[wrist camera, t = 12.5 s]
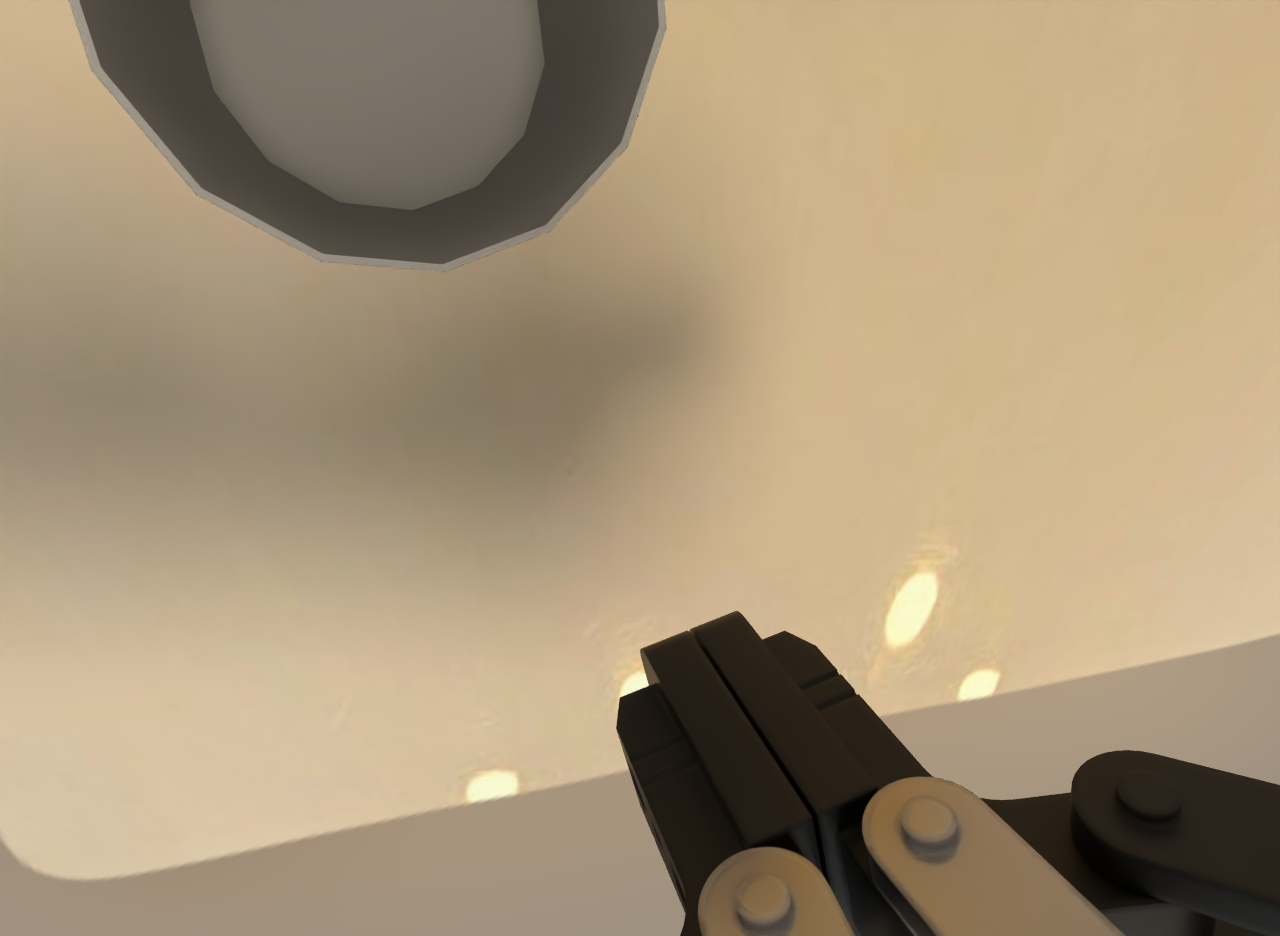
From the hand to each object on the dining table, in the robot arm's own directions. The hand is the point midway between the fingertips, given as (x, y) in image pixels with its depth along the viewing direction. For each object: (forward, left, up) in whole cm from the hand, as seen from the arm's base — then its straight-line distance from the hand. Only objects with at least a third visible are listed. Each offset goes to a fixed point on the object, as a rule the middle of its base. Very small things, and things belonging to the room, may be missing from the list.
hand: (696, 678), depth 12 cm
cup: (-1, +10, -15) cm, 18 cm away
